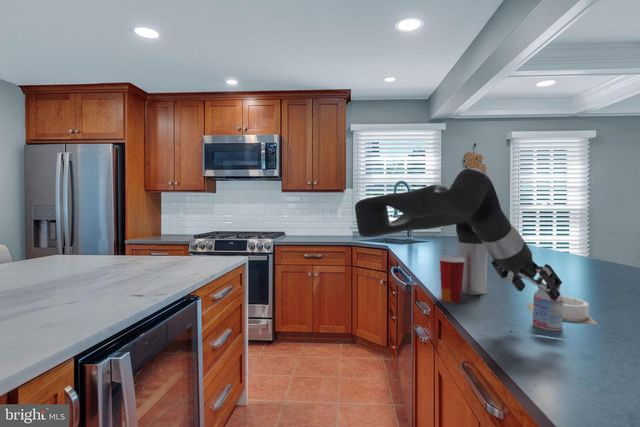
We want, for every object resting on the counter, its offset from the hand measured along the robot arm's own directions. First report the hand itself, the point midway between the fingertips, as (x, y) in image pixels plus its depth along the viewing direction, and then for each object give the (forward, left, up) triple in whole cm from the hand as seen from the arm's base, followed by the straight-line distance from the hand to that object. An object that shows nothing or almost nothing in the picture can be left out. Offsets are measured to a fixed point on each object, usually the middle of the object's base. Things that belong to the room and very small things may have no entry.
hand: (538, 293), depth 83 cm
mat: (+8, +18, -9) cm, 21 cm away
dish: (+9, +18, -9) cm, 22 cm away
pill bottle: (+3, +4, -9) cm, 11 cm away
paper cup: (-20, +20, -9) cm, 30 cm away
